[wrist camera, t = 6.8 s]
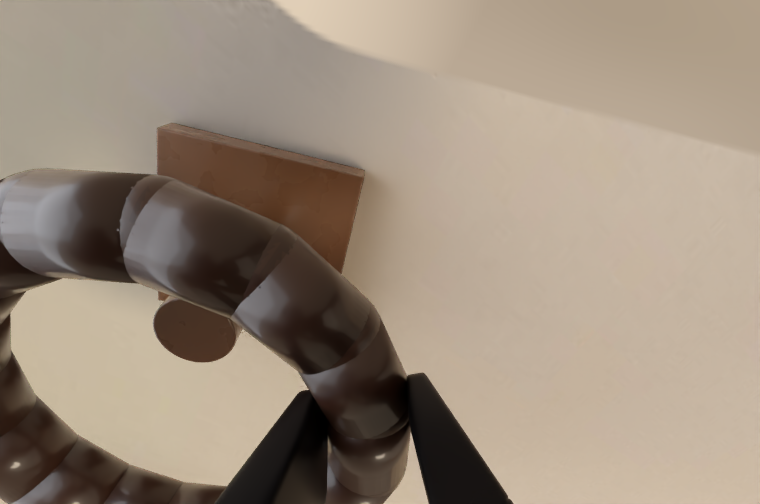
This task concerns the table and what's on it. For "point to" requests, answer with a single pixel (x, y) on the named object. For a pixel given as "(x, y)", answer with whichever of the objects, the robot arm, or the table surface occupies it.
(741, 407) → the table surface
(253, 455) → the robot arm
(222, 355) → the peg stand
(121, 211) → the ring
